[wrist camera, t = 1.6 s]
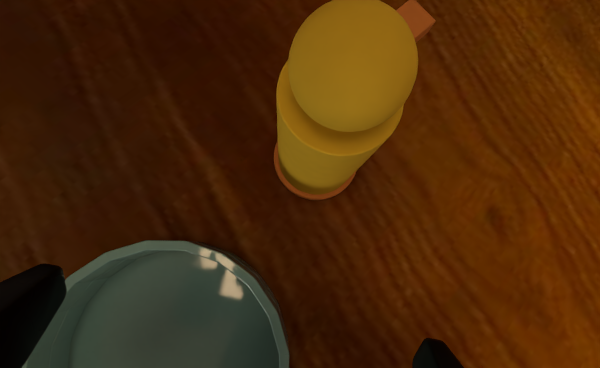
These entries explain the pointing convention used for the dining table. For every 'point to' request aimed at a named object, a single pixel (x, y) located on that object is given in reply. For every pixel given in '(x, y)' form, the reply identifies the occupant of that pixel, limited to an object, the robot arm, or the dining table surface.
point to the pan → (165, 312)
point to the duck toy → (344, 91)
